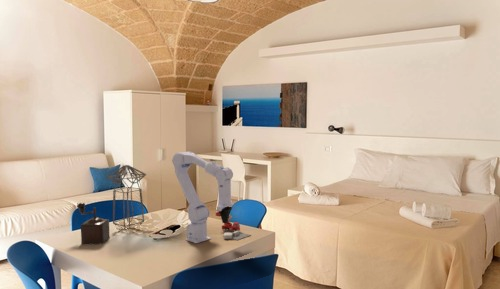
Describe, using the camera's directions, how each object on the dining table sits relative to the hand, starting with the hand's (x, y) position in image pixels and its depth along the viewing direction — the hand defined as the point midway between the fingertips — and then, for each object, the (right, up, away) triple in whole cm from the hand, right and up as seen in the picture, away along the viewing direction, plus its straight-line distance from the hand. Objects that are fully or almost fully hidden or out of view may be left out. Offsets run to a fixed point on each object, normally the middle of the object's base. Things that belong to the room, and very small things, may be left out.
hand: (225, 222), depth 188 cm
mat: (+5, -9, +14) cm, 17 cm away
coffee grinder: (-66, -11, +8) cm, 68 cm away
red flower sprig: (0, -9, +23) cm, 25 cm away
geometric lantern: (-53, -9, +24) cm, 59 cm away
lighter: (+2, -9, +8) cm, 12 cm away
